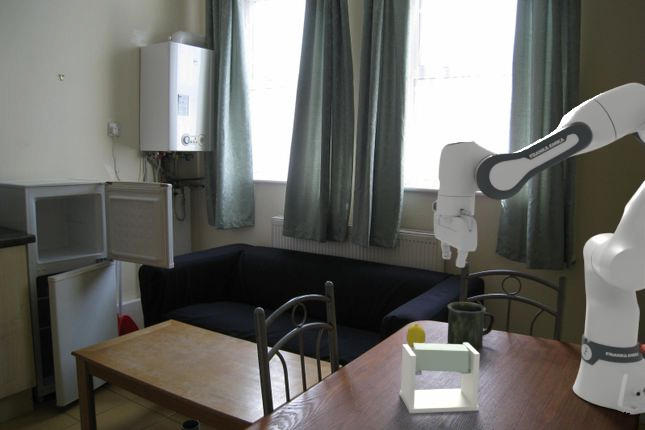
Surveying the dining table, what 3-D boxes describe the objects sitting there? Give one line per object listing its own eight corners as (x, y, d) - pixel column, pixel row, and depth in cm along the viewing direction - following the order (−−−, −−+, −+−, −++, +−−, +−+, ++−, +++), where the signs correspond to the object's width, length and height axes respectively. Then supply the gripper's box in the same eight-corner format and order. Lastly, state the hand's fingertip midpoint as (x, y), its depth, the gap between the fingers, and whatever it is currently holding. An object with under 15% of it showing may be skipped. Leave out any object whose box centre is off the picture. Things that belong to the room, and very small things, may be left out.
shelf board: (414, 370, 117) (415, 349, 117) (412, 363, 121) (413, 342, 121) (467, 372, 117) (468, 351, 116) (463, 365, 121) (464, 344, 120)
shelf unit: (463, 392, 125) (466, 341, 124) (478, 410, 116) (481, 355, 115) (399, 394, 123) (401, 342, 122) (410, 413, 115) (412, 357, 113)
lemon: (424, 354, 149) (425, 327, 148) (405, 352, 150) (406, 326, 149) (425, 347, 154) (426, 321, 153) (406, 345, 155) (407, 320, 154)
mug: (440, 339, 161) (442, 302, 160) (484, 337, 163) (486, 301, 162) (453, 352, 151) (455, 312, 149) (500, 350, 152) (502, 311, 151)
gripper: (486, 212, 115) (482, 272, 117) (453, 203, 135) (451, 254, 137) (458, 212, 114) (456, 272, 116) (430, 203, 135) (428, 254, 136)
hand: (453, 262), depth 127 cm, fingers open, 8 cm apart
